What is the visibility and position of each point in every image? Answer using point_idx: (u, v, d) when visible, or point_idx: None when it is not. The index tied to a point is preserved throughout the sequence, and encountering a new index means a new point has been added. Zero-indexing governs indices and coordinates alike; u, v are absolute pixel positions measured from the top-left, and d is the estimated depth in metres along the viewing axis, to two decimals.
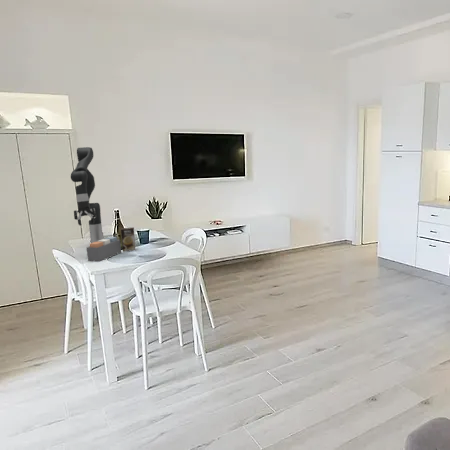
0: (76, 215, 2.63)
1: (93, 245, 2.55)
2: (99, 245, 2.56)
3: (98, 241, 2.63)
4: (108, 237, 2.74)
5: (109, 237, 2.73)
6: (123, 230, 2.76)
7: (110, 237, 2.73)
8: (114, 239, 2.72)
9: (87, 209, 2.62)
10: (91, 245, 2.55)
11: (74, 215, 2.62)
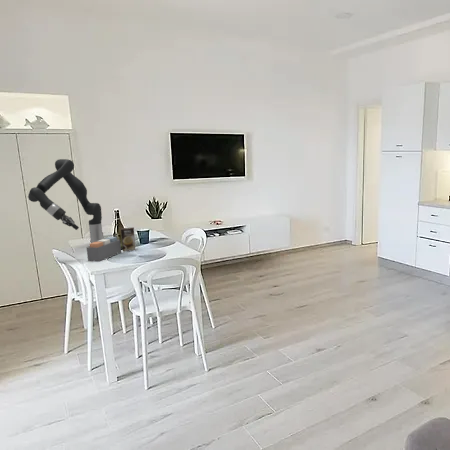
0: None
1: (93, 245, 2.55)
2: (99, 245, 2.56)
3: (98, 241, 2.63)
4: (108, 237, 2.74)
5: (109, 237, 2.73)
6: (123, 230, 2.76)
7: (110, 237, 2.73)
8: (114, 239, 2.72)
9: None
10: (91, 245, 2.55)
11: None
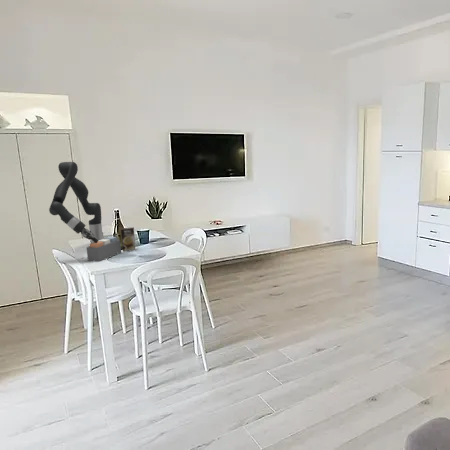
0: None
1: (93, 245, 2.55)
2: (99, 245, 2.56)
3: (98, 241, 2.63)
4: (108, 237, 2.74)
5: (109, 237, 2.73)
6: (123, 230, 2.76)
7: (110, 237, 2.73)
8: (114, 239, 2.72)
9: None
10: (91, 245, 2.55)
11: None
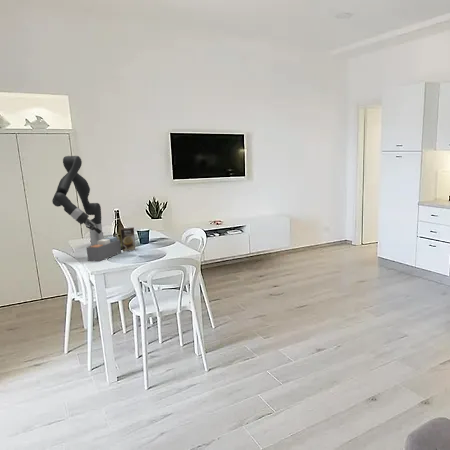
0: (93, 225, 2.63)
1: None
2: None
3: (98, 241, 2.63)
4: (108, 237, 2.74)
5: (109, 237, 2.73)
6: (123, 230, 2.76)
7: (110, 237, 2.73)
8: (114, 239, 2.72)
9: None
10: None
11: (92, 226, 2.63)
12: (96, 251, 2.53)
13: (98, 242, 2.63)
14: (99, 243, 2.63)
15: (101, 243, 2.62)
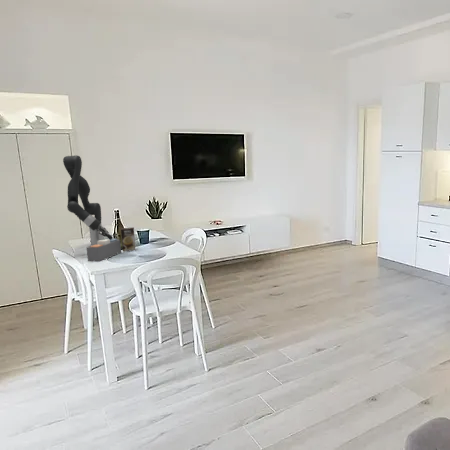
0: None
1: None
2: None
3: (98, 241, 2.63)
4: None
5: None
6: (123, 230, 2.76)
7: None
8: None
9: None
10: None
11: None
12: (96, 251, 2.53)
13: (98, 242, 2.63)
14: (99, 243, 2.63)
15: (101, 243, 2.62)
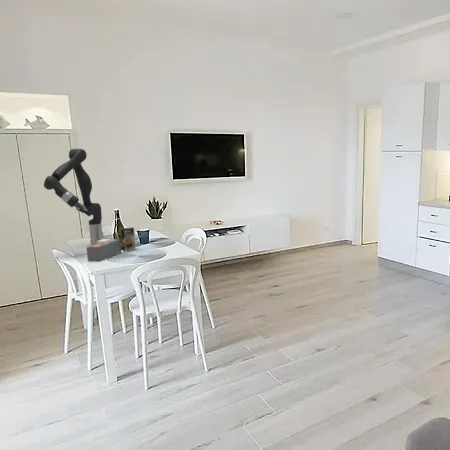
0: None
1: None
2: None
3: (98, 241, 2.63)
4: None
5: None
6: (123, 230, 2.76)
7: (110, 240, 2.74)
8: None
9: None
10: None
11: None
12: (96, 251, 2.53)
13: (98, 242, 2.63)
14: (99, 243, 2.63)
15: (101, 243, 2.62)
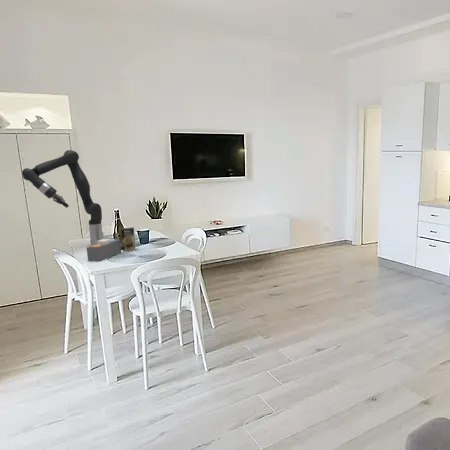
0: None
1: None
2: None
3: (98, 241, 2.63)
4: None
5: None
6: (123, 230, 2.76)
7: (110, 240, 2.74)
8: None
9: None
10: None
11: None
12: (96, 251, 2.53)
13: (98, 242, 2.63)
14: (99, 243, 2.63)
15: (101, 243, 2.62)
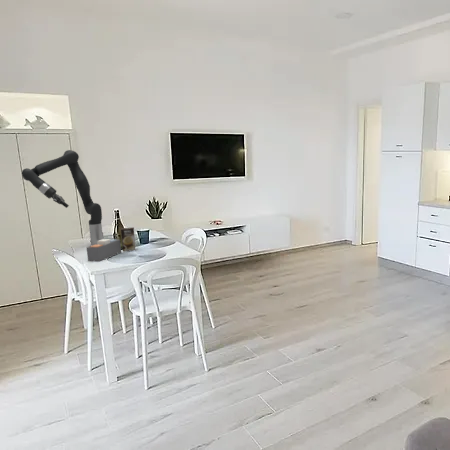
0: None
1: None
2: None
3: (98, 241, 2.63)
4: None
5: None
6: (123, 230, 2.76)
7: (110, 240, 2.74)
8: None
9: None
10: None
11: None
12: (96, 251, 2.53)
13: (98, 242, 2.63)
14: (99, 243, 2.63)
15: (101, 243, 2.62)
